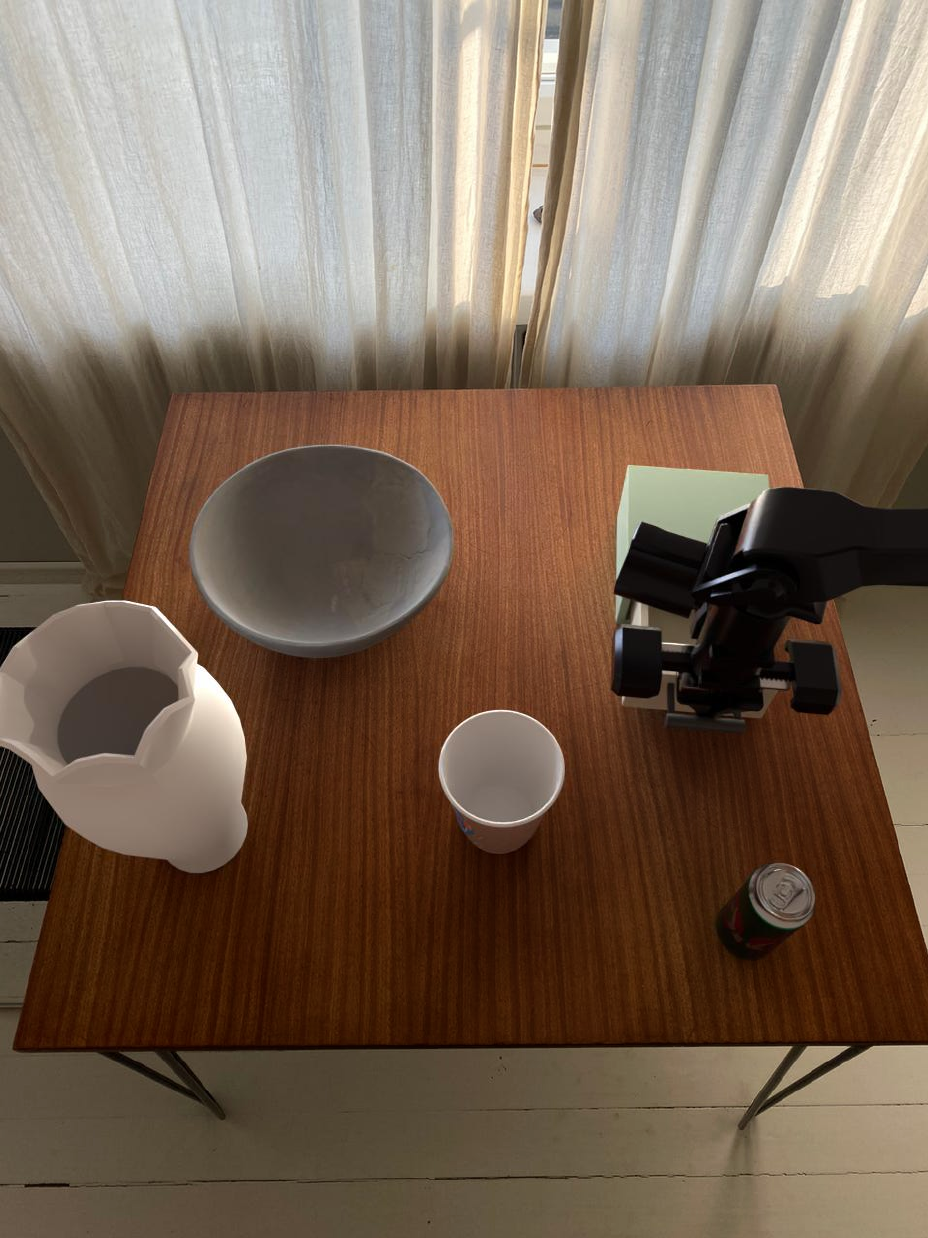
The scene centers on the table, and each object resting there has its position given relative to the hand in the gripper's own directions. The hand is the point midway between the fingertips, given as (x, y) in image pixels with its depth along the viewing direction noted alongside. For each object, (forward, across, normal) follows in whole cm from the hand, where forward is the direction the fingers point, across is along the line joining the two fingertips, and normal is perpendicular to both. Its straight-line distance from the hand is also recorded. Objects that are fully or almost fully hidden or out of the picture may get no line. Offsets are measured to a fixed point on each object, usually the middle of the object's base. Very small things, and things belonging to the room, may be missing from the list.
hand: (701, 712), depth 81 cm
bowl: (+5, +38, -14) cm, 41 cm away
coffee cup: (+5, +18, +10) cm, 21 cm away
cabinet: (+5, 0, -20) cm, 20 cm away
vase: (+5, +45, +14) cm, 48 cm away
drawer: (+4, 0, -7) cm, 8 cm away
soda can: (+5, -4, +18) cm, 19 cm away
